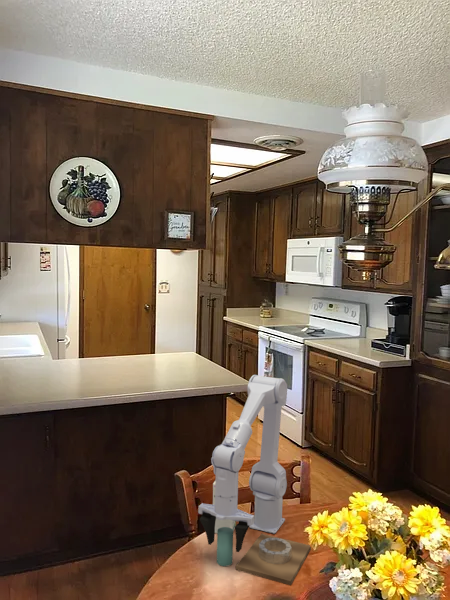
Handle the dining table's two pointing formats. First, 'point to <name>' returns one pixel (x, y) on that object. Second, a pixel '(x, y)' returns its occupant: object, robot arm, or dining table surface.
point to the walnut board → (274, 571)
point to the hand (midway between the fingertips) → (224, 546)
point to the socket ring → (275, 556)
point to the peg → (224, 546)
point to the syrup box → (224, 522)
